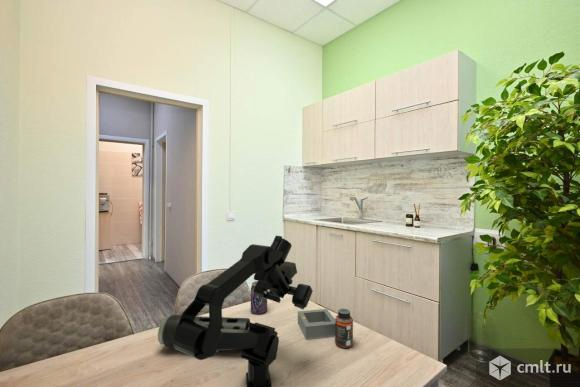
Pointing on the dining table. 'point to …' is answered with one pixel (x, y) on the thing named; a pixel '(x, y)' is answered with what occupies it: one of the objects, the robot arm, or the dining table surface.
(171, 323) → the muzzle brake
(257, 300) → the beverage can
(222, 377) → the dining table surface
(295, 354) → the dining table surface
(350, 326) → the supplement bottle
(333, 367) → the dining table surface
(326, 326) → the socket housing
